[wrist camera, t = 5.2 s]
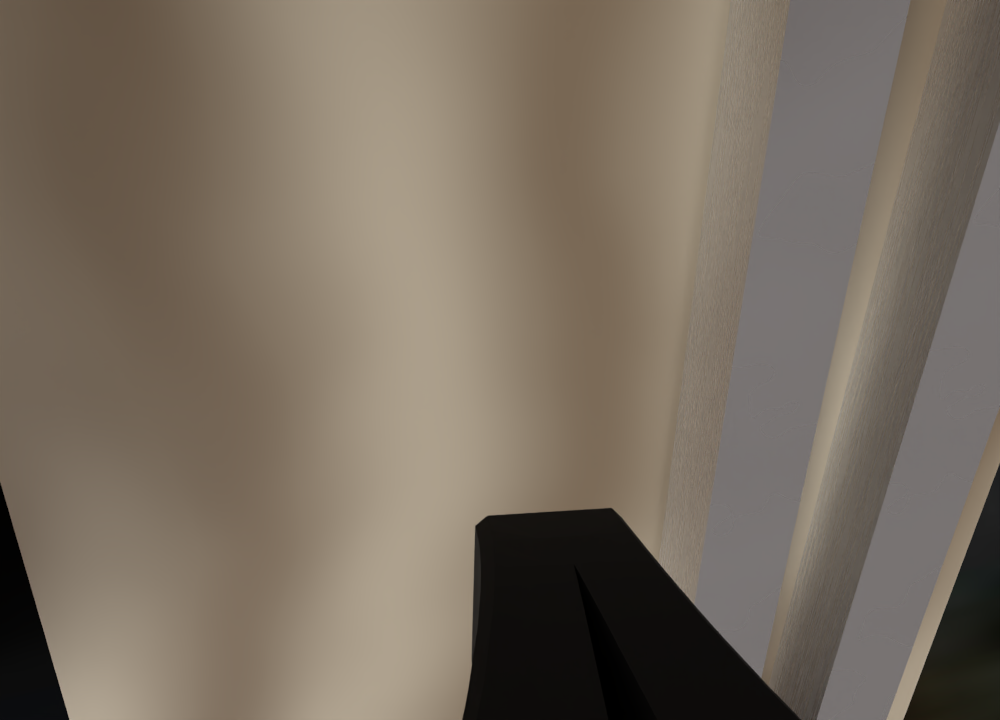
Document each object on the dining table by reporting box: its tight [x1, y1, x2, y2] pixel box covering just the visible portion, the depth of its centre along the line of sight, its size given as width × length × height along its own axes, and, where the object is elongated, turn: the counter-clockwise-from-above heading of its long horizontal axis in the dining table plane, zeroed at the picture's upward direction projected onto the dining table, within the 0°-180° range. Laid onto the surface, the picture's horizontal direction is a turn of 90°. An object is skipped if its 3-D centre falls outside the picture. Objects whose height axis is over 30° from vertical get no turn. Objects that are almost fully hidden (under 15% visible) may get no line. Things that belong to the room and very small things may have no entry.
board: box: [0, 0, 1000, 720], centre depth 19 cm, size 19×28×1 cm
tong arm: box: [659, 0, 911, 677], centre depth 18 cm, size 3×22×2 cm, turn 179°
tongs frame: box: [768, 0, 1000, 720], centre depth 19 cm, size 6×27×2 cm, turn 178°
